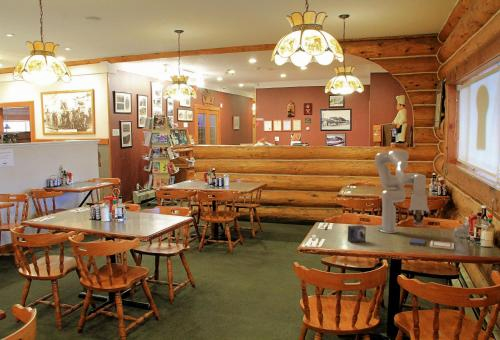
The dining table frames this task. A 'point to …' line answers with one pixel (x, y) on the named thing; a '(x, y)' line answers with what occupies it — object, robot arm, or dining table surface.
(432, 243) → the marked board
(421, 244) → the ink pad
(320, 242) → the dining table surface
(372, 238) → the dining table surface
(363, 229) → the small box
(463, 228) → the pig figurine
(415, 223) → the stamp
